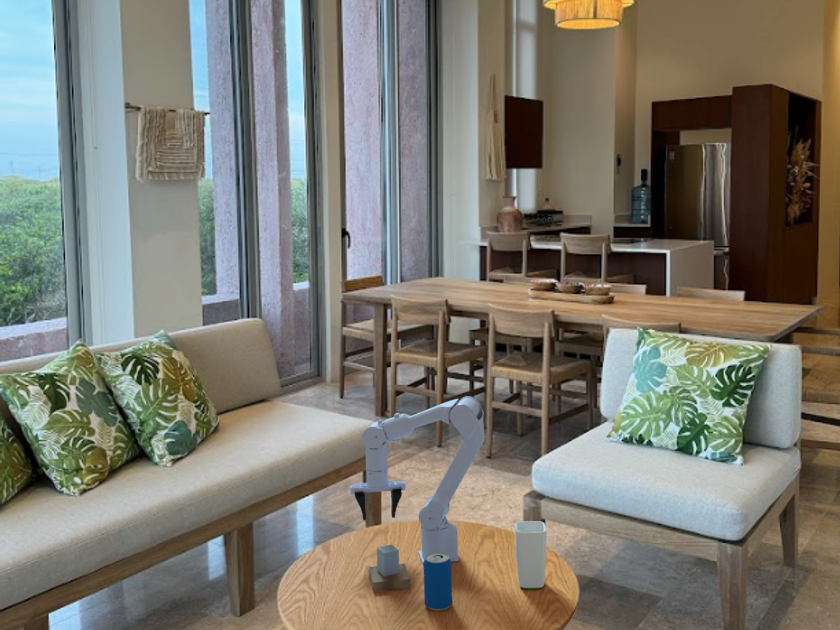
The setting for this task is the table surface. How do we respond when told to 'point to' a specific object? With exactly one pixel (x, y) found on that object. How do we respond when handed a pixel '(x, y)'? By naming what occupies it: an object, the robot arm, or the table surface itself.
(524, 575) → the cup
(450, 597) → the beverage can
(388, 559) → the slate-blue block
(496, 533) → the table surface
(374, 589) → the taupe plinth
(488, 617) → the table surface
